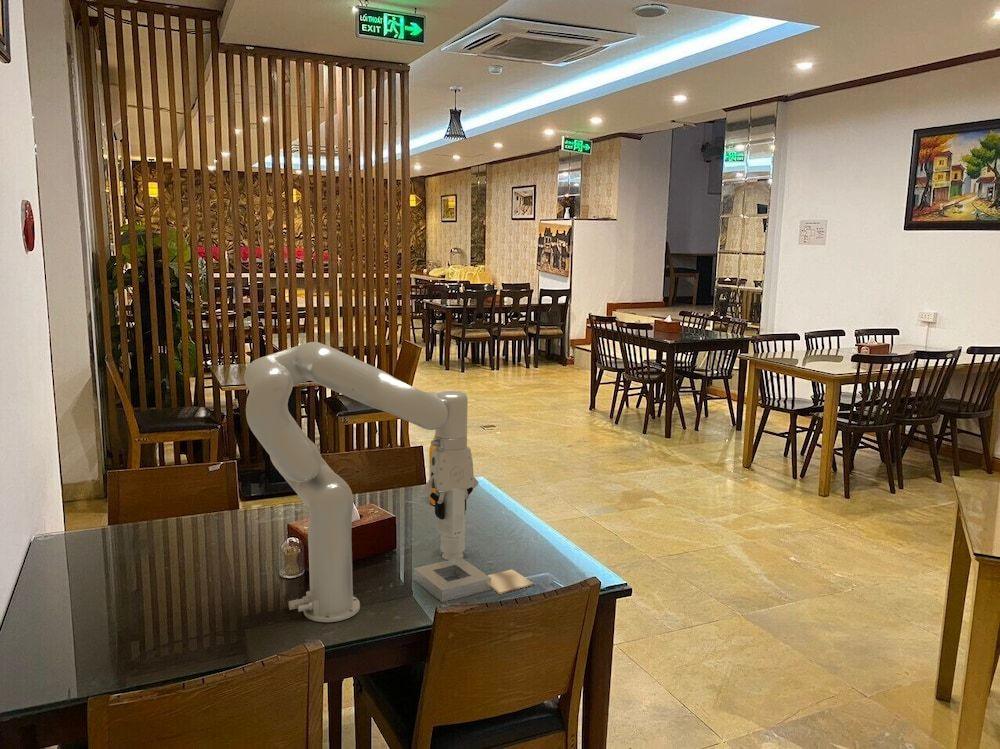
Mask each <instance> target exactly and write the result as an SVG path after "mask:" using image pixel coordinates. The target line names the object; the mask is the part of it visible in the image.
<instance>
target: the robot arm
mask: <svg viewBox="0 0 1000 749" xmlns="http://www.w3.org/2000/svg"><path fill="white" fill-rule="evenodd" d="M243 381H244V384H245V386H246V388H247V389H248V391H249V393H248V395H247V399H246V404H245V416H246V417H245V418H246V421H247V425H248V427H249V429H250V431H251V432H252V434H253V435H254V436H255V438H256V439H257V440H258V442H259V443H260V444H261V446H262V448H263V449H264V450H265V451H266V453H267V454H268V456H269V458H270V461H271V463H272V465H273V466H274V467H275V469H276V470H277V471H278V473H279V474H280V476H282V477H283V478H284V480H285V482H286V483H287V484H288V485H289V486H290V487H291V488H292V489H293V491H294V492H295V494H297V497H298V498H300V499H301V501H302V502H303V503H304V504H305V505H306V507H307V508H308V511H309V512H308V513H309V514H308V515H309V519H308V525H307V526H308V529H307V542H308V543H307V545H308V546H307V547H308V570H309V571H308V572H309V590H307V591H306V592H305V596H302V598H299V599H294V600H288V608H289V610H290V611H291V610H295V609H297V611H298V613H301V612H303V614H304V615H303V616H305V617H306V619H309V620H311V621H313V622H319V623H334V622H335V623H337V622H341V621H344V620H348V619H349V618H352V617H354V616H355V615H356V614H358V613H359V611H360V609H361V602H360V600H359V599H358V598H357V597H356V596H354V590H353V589H354V586H353V584H354V583H353V582H354V581H353V550H352V548H353V547H352V546H353V544H352V523H353V522H352V521H353V514H354V496H353V495H354V494H353V492H352V489H351V487H350V485H349V484H348V483H347V482H346V481H345V479H343V478H342V477H341V476H339V474H337V473H335V472H334V470H333V469H332V468H331V467H330V466H329V465H328V463H327V462H326V461H325V459H324V458H323V457H322V454H321V452H320V450H319V448H318V447H317V445H316V444H315V443H314V442H313V441H312V440H311V439H310V438H309V437H308V436H307V435H306V433H305V432H304V431H303V429H302V428H301V427H300V426H299V424H298V423H297V422H296V420H295V418H294V417H293V416H292V414H291V413H290V411H289V406H288V403H289V399H290V396H291V393H292V391H293V387H294V386H297V385H300V384H303V383H304V382H305V383H306V382H308V381H310V382H313V383H315V384H317V385H320V386H322V387H324V388H326V389H328V390H331V391H333V392H336V393H339V394H341V395H343V396H344V397H348V398H349V399H351V400H354V401H357V402H359V403H361V404H363V405H365V406H368V407H370V408H372V409H376V410H379V411H383V412H385V413H387V414H390V415H391V416H392V415H393V416H395V417H397V418H399V419H402V420H404V421H406V422H409V423H411V424H413V425H415V426H417V427H420V428H423V429H425V430H428V431H435V430H436V436H435V435H434V436H435V440H433V439H432V440H431V441H430V445H432V446H435V447H436V448H435V449H433V453H432V458H431V465H430V464H429V479H428V481H427V482H426V483H425V485H424V486H423V488H422V493H424V494H426V495H427V496H428V497H429V498H430V497H431V498H432V499H433V500H434V501H435V506H434V514H435V516H436V518H437V517H438V518H440V519H441V520H443V519H444V518H445V504H444V503H443V498H444V494H445V493H446V492H451V490H452V489H459V490H464V489H465V512H466V511H467V500H468V499H469V497H470V494H471V493H472V492H473V490H474V489H475V488H476V487H477V486H478V485H479V481H478V480H477V479H476V478H475V475H474V462H473V456H472V450H471V447H469V446H468V402H469V401H468V396H467V394H466V393H465V392H462V391H457V390H446V391H441V392H434V391H433V392H431V391H430V392H428V391H423V390H420V389H418V388H416V387H414V386H412V385H410V384H407V382H404V381H403V380H400V379H398V378H396V377H395V376H392V375H391V374H389V373H387V372H386V371H384V370H381V369H379V368H378V367H376V366H373V365H371V364H369V363H367V362H365V361H362V360H361V359H358V358H356V357H354V356H352V355H350V354H347V353H346V352H343V351H341V350H338V349H337V348H334V347H332V346H330V345H327V344H324V343H322V342H319V341H309V342H305V343H302V344H299V345H296V346H292V347H290V348H286V349H284V350H280V351H277V352H274V353H271V354H267V355H265V356H262V357H259V358H257V359H256V358H255V359H254V360H253V361H251V362H250V363H249V364H248V365H247V367H246V368H245V371H244V375H243ZM432 488H434V489H435V493H433V492H432V491H431V489H432Z"/></svg>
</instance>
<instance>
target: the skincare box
mask: <svg viewBox="0 0 1000 749" xmlns="http://www.w3.org/2000/svg"><path fill="white" fill-rule="evenodd" d="M443 503H444V504H445V518H444V519H443V520H441V519H440V518H438V517H436V533H438V534H440V533H441V534H444V535H447V536H449V537H452V538H453V537H456V536H459V535H462V534H465V535H466V511H465V489H464V490H459V489H452V490H451V492H446V493H445V494H444V498H443Z"/></svg>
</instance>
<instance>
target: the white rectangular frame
mask: <svg viewBox="0 0 1000 749" xmlns="http://www.w3.org/2000/svg"><path fill="white" fill-rule="evenodd" d="M488 575H489V574H488ZM488 575H487V573H485V572H483V571H482V570H480V569H479V568H477V567H476V566H475V565H473V564H471V563H470V562H469V561H467V560H466V559H464V557H463V558H456V559H452V560H447V559H446V560H444V561H440V562H435V563H431V564H426V565H422V566H417V567H413V580H414V581H415V582H416V583H417V584H418V585H420V586H421V587H422V586H423V587H424V588H423V587H422V588H423V589H424V590H426V591H427V592H428V593H430V594H431V595H432V596H433V595H434V596H433V597H434V598H436V599H437V600H438V599H439V600H440V602H441V603H444V602H443V601H446V602H449V601H448V600H450V601H453V599H454V600H457V599H461V598H464V597H468V596H472V595H476V594H480V593H483V592H487V591H491V590H492V589H491V577H489V576H488ZM454 577H457V578H456V579H454V580H450V581H448V580H446V579H448V578H454ZM439 600H438V601H439Z"/></svg>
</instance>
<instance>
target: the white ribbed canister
mask: <svg viewBox="0 0 1000 749" xmlns="http://www.w3.org/2000/svg"><path fill="white" fill-rule="evenodd" d="M439 534H440V535H439V537H440V547H439V550H440V551H441V552H442V554H441V558H442V559H444V560H446V561H447V560H452V559H456V558H463V559H464V556H465V555H464V551H465V550H466V542H465V538H466V533H465V534H462V535H459V536H456V537H453V538H452V537H449V536H447V535H444V534H441V533H439Z"/></svg>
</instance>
